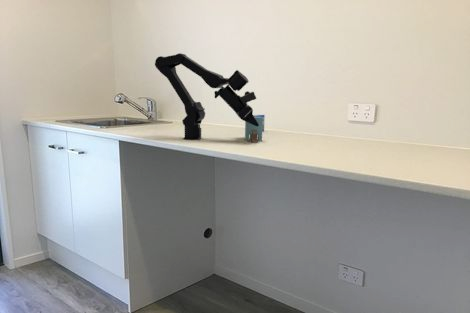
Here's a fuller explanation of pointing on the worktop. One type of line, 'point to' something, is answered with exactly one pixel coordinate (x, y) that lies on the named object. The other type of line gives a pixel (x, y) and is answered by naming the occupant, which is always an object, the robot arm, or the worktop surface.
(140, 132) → the worktop surface
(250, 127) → the teal plate
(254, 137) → the brown stepped bar
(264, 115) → the medicine box
